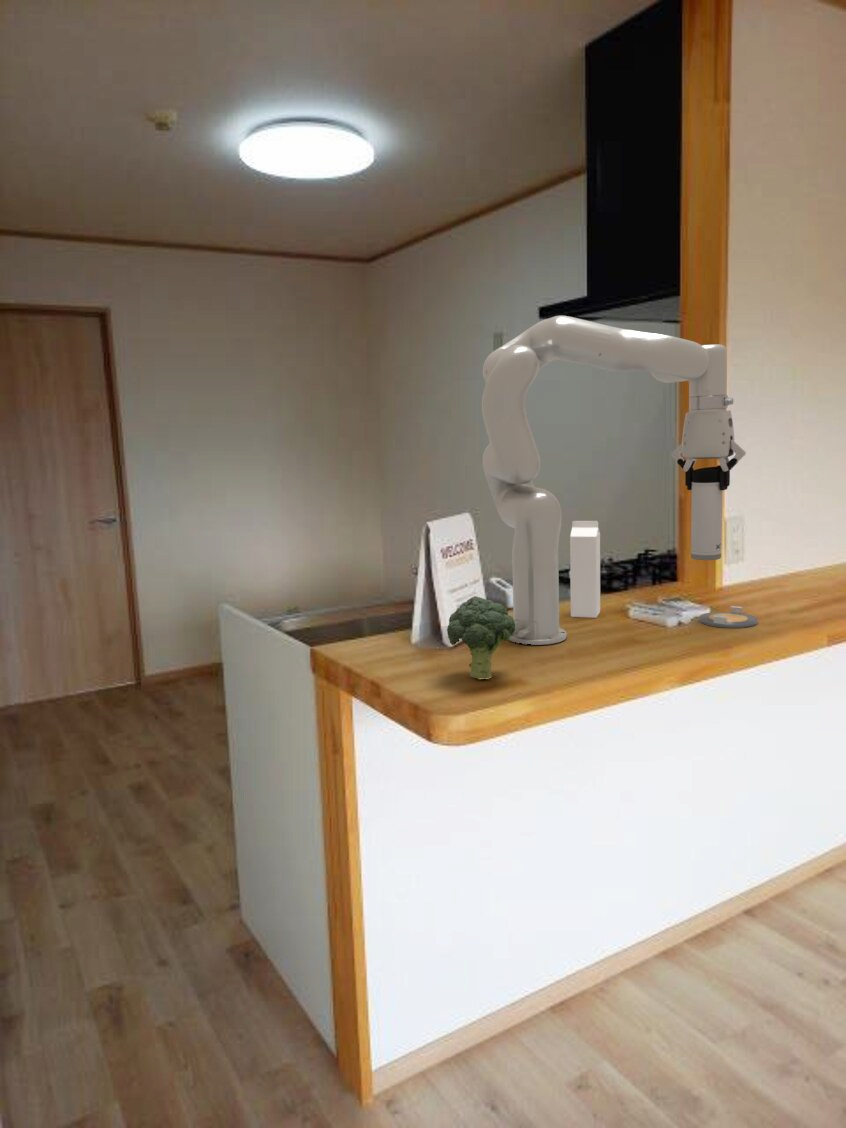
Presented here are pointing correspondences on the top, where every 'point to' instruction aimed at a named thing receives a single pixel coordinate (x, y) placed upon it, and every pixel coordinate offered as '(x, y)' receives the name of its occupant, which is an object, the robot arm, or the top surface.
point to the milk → (585, 569)
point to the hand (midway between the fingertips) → (707, 488)
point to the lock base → (729, 619)
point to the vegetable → (480, 631)
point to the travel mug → (706, 514)
